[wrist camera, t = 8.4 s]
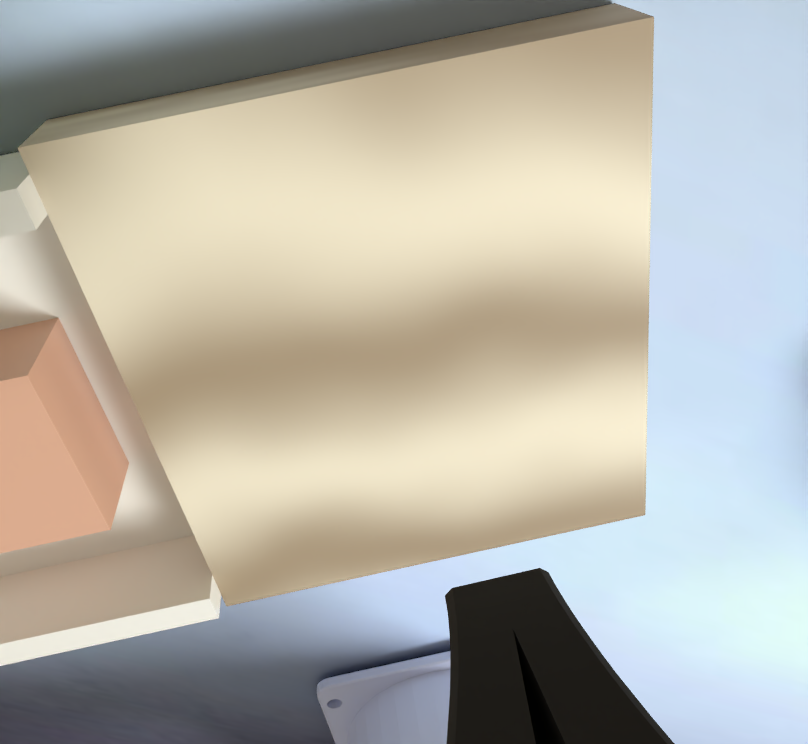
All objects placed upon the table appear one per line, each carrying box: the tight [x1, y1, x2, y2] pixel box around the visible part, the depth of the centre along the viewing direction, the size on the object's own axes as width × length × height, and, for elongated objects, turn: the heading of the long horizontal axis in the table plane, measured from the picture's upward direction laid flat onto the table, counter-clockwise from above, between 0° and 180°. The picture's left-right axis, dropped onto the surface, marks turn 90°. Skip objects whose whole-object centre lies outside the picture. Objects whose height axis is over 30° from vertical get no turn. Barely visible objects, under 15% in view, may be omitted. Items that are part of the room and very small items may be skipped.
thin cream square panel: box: [18, 3, 654, 606], centre depth 18 cm, size 13×12×2 cm
